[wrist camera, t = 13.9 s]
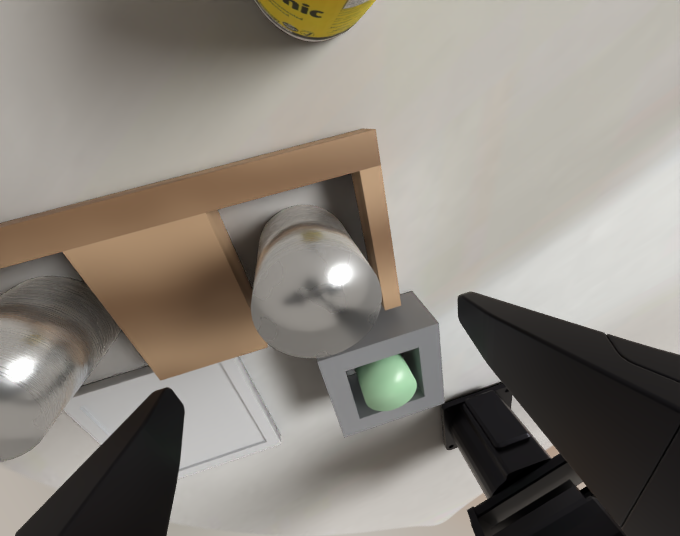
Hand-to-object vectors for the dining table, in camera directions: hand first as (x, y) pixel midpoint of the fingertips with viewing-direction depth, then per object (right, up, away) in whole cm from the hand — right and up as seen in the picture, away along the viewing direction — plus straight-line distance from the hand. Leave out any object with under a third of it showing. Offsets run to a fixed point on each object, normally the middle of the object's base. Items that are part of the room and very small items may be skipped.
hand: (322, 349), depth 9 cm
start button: (+3, -3, +11) cm, 12 cm away
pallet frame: (-8, +2, +7) cm, 11 cm away
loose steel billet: (-1, +4, +8) cm, 8 cm away
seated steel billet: (-14, 0, +6) cm, 15 cm away
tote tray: (-10, -8, +11) cm, 17 cm away
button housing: (+3, -3, +12) cm, 12 cm away
